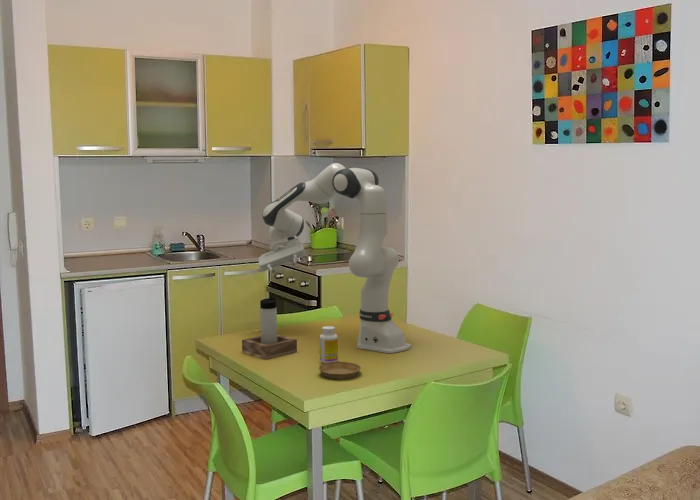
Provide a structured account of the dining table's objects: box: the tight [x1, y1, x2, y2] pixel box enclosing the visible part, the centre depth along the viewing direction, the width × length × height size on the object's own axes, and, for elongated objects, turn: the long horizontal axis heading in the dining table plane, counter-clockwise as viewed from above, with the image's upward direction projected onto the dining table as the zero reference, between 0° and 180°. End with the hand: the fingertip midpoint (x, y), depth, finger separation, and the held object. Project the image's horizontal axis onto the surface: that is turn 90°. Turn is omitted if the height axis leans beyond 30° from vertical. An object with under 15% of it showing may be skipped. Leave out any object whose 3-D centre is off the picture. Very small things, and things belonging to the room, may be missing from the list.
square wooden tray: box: [241, 333, 298, 360], centre depth 278 cm, size 15×15×5 cm
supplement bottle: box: [319, 325, 339, 364], centre depth 264 cm, size 7×7×13 cm
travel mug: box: [259, 296, 278, 345], centre depth 277 cm, size 6×7×20 cm
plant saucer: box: [318, 361, 362, 380], centre depth 250 cm, size 15×15×3 cm
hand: (283, 267), depth 296 cm, fingers open, 8 cm apart
